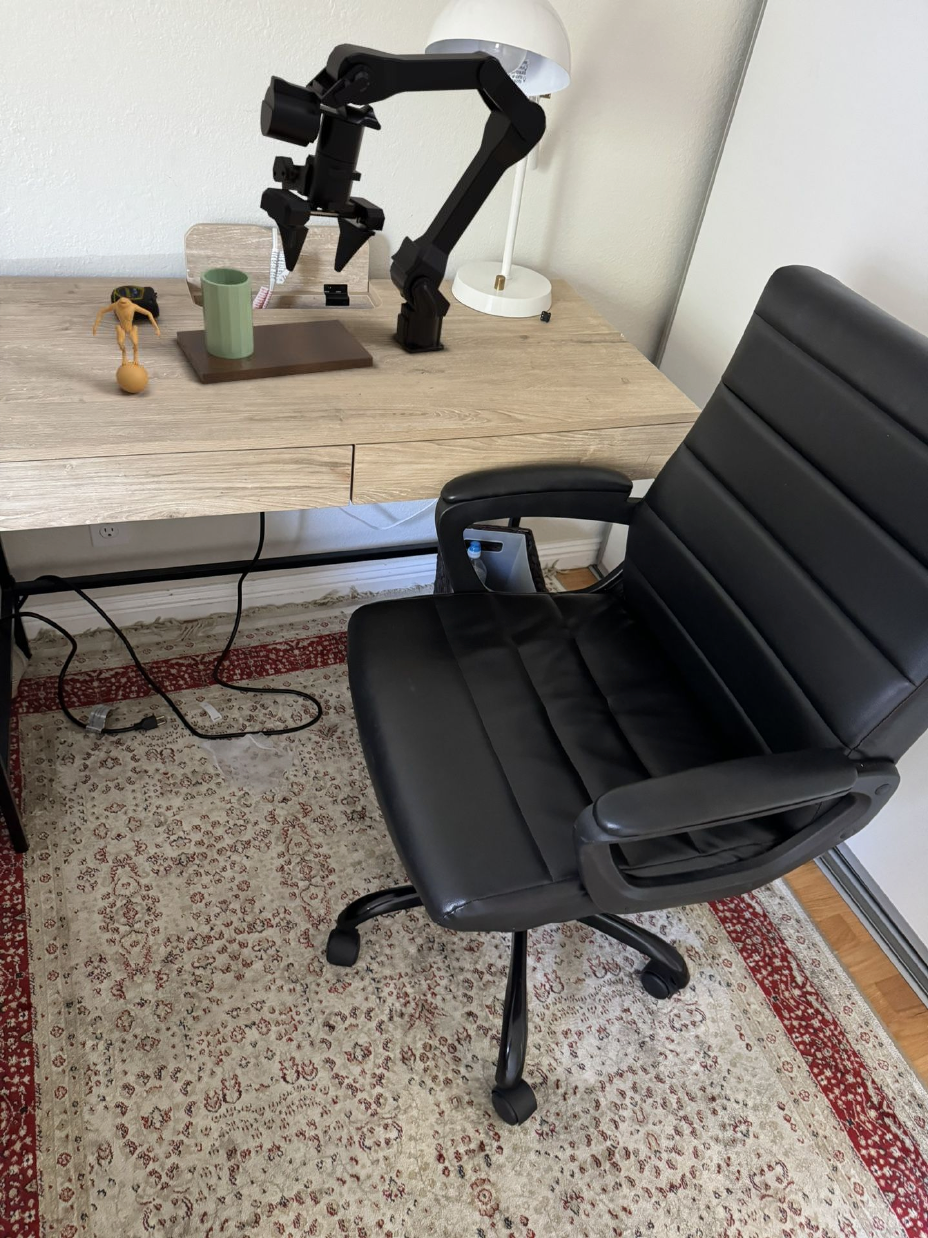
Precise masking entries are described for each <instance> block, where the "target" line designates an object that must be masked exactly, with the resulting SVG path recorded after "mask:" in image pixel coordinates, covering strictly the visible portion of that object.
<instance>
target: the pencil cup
mask: <svg viewBox="0 0 928 1238" xmlns="http://www.w3.org/2000/svg"><path fill="white" fill-rule="evenodd" d="M199 277H200V278H199V279H200V280H199V281H200V292H201V304H202V305H201V306H202V316H203V318H202V319H203V330H204V331H205V343H206V349H207V351H208V352H209V353H211V354H212V355H214V356H217V357H221V358H227V359H238V358H243V357H247V356H249V355H251V354H252V353H253V351H254V329H253V326H254V308H253V305H254V304H253V281H252V278H253V277H252V276H251V275H250V273H248V272H246V271H244V270H243V269H242V270H241V269H238V268H233V267H224V266H223V267H211V268H207V269H205V270H203V271H201V273H200V274H199Z"/></svg>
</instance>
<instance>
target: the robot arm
mask: <svg viewBox="0 0 928 1238" xmlns="http://www.w3.org/2000/svg"><path fill="white" fill-rule="evenodd" d="M325 64H326V65H325V66H324V67H322V69H321V70H320V71H319V72H318V73H317V74H315V76H314V77H313V78H312V79H311V80H309V82H308V83H307V84H306V85H305V86H302V85H299V84H296V83H293V82H289V81H287V80H286V79H284V78H283V77H280V76H276V75H271V76H270V82H269V85H268V86H267V88H266V91H265V94H264V98H263V99H262V100H261V106H260V117H259V119H260V120H259V121H260V122H259V125H260V132H261V135H262V137H265V138H270V139H273V140H277V141H281V142H283V143H288V144H292V145H295V146H297V147H298V146H299V147H302V148H307V147H308V146H309V144H314V143H315V141H316V147H315V151H314V154H307V157H306V158H305V163H304V165H303V164H302V165H300V164H295V163H294V160H293V158H292V157H290V156H285V155H276V156H275V157H274V161H273V165H272V180H273V181H274V182H275V183H281V188H278V187H267V188H265V190H264V191H262V193H261V197H260V202H259V203H260V204H259V208H260V209H261V210H263V211H264V212H265V213H266V214H267V216H268V217H269V218H270V219H272V220H273V221H274V222H275V224H276V226H277V228H278V232H279V236H280V239H281V246H282V253H283V258H284V265H285V269H286V270H287V271H288V272H291V273H292V272H293V271H294V270H295V267H296V266H297V263H298V261H299V258H300V256H301V252H302V251H303V247H304V244H305V241H306V238H307V236H308V233H309V230H310V229H309V228H308V227H307V226H305V225H306V224H307V223H308V222H309V221H310V220H311V217H321V218H334V219H336V220H337V224H338V225H337V226H338V229H339V235H338V240H337V246H336V251H335V255H334V256H335V257H334V264H333V270H334V271H335V272H336V273H342V271H343V270H344V268H345V267H346V266H347V265H348V263H349V262H350V261H351V260H352V259H353V257H354V256H355V255H356V254H357V252H358V251H359V250H360V249H361V248H362V247H363V246H364V245H365V244H366V243H367V241H368V240H369V239H371V238H372V237H375V236H376V233H377V232H382V231H383V230H384V225H385V222H386V216H385V212H384V209H383V208H381V207H380V206H378V205H376V204H374V203H373V202H371V201H370V200H368V199H366V198H364V197H360V196H353V195H352V190H353V186H354V181H355V182H361V179H362V172H359V171H358V170H357V166H358V162H359V157H360V153H361V149H362V144H363V138H364V134H365V130H366V128H369V129H372V130H375V131H381V129H382V125H381V123H380V122H379V120H378V118H377V116H376V114H375V109H374V107H373V106H371V105H370V104H375V103H379V102H383V101H386V100H387V99H389V98H392V97H394V96H396V95H398V94H403V93H413V92H414V93H416V92H417V93H418V92H446V91H469V90H471V91H474V90H475V91H477V93H478V95H479V97H480V99H481V100H482V102H483V104H485V107H486V108H487V109H488V110H489V111H490V114H489V115H488V117H487V120H486V121H485V124H484V129H483V133H482V138H481V142H480V146H479V149H478V151H476V154H475V155H474V157H473V158H472V160H471V161H470V163H469V164H468V166H467V168H466V169H465V171H464V172H463V173H462V175H461V176H460V178H459V180H458V181H457V183H456V184H455V186H454V188H452V190H451V192H450V194H449V195H448V197H447V198H446V200H445V201H444V203H443V204H442V206H441V208H440V209H439V210H438V211H437V214H436V215H435V217H434V218H433V220H432V222H431V223H430V225H428V228H427V229H426V230H425V232H424V233H423V234H422V235H420V236H419V237H417V238H416V239H414V240H412V239H411V238H410V237H409V236H408V235H406V236H405V237H404V238H403V239H402V242H401V244H400V246H399V248H398V250H397V251H396V252H395V253H394V254H392V255H391V256H390V259H391V260H392V262H391V265H390V267H389V274H390V275H389V276H390V281H391V282H392V284H393V285H394V287H395V288H396V289H397V290H398V291H399V294H400V296H401V298H403V299H404V300H405V301H406V302H401V303H400V312H399V313H398V314H397V317H396V318H397V319H396V329H395V330H396V331H395V333H393V338H395V339H396V341H398V342H399V343H400V344H401V346H403V348H404V349H406V351H407V352H409V353H420V352H421V353H422V352H430V351H441V350H445V345H444V344H443V343H442V342H441V339H442V338H441V336H442V329H443V328H442V327H443V322H444V317H446V316H447V314H448V312H449V310H450V307H451V302H450V301H449V300H448V299H447V298H446V296H444V294H443V293H442V292H441V291H440V286H441V284H442V282H443V281H444V279H445V277H446V270H447V266H448V261H449V257H450V255H451V253H452V251H453V250H454V248H455V247H456V245H457V243H458V242H459V241H460V239H461V238H462V236H463V235H464V233H465V232H466V230H467V229H468V227H469V226H470V224H471V223H472V221H473V220H474V219H475V217H476V215H477V214H478V213H479V211H480V209H481V208H482V206H483V205H484V203H485V202H486V201H487V199H488V198H489V196H490V195H491V193H492V192H493V190H494V189H495V188H496V186H497V184H498V183H499V181H500V180H501V178H502V176H503V175H504V174H505V173H506V172H507V170H509V168H512V167H513V166H514V165H516V164H518V163H519V162H520V161H522V160H523V159H525V158H526V157H527V156H528V155H529V154H530V153H531V152H532V150H533V149H534V148H535V147H536V146H537V145H538V144H539V143H540V142H541V140H542V139H543V138H544V135H545V133H546V130H547V116H546V111H545V110H544V108H543V107H542V105H541V104H539V103H538V102H537V101H534V100H533V99H530V98H528V96H527V95H526V93H525V92H524V91H523V90H522V89H521V88H520V87H519V85H518V84H517V83H516V82H515V81H514V79H512V77H511V76H510V75H509V74H508V72H507V71H506V69H505V67H504V66H503V65H502V63H501V61H500V60H499V59H498V58H497V57H496V56H494V55H492V54H490V53H488V52H486V51H483V50H476V51H473V52H458V53H457V52H454V53H453V52H452V53H451V52H450V53H449V52H448V53H405V54H403V53H402V54H395V53H392V52H386V51H383V50H379V49H376V48H372V47H367V46H363V45H362V46H361V45H357V44H351V43H339V44H337V45H336V46H334V47H333V49H332V51H330V53H329V55H328V58H327V59H326V63H325ZM350 104H351V105H350ZM356 106H359V107H356ZM360 106H361V107H360ZM293 191H295V192H296V193H297V194H296V193H295V192H293ZM299 195H300V196H299ZM351 195H352V196H351ZM302 197H305V198H306V199H304V198H302ZM376 231H377V232H376Z"/></svg>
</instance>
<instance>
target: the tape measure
mask: <svg viewBox="0 0 928 1238" xmlns="http://www.w3.org/2000/svg"><path fill="white" fill-rule="evenodd" d="M121 297H123V298H127V299H129V300H130V301H131V302H132V303H133V304H136V305H138V306H139V307H141V308H143V309H145V310H147V311H149V312H150V313H151V314H152V316H153V319H154V320H155V319H157V318H159V316H160V307H159V303H158V301H157V299H158V292H155V289H154V288H153V287H152V286H139V285H132V284H131V285H130V284H129V285H121V286H117V287H115V288H114V289H113V290H112V292H111V295H110V305H111V304H112V303H116V302H117V301H118V300H119V299H120V298H121ZM113 312H114V314H116V311H115V310H113ZM146 320H150V318H149V316H148V315H145V314H143V313H140V312H137V311H135V312H134V316H133V320H132V321H146Z"/></svg>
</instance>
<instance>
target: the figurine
mask: <svg viewBox="0 0 928 1238" xmlns="http://www.w3.org/2000/svg"><path fill="white" fill-rule="evenodd" d="M114 310H115V311H116V313H115V315H116V316H117V317H118V320H119V322H120V324H116V325H115V331H116V341H117V345H118V347H119V350H120V351H121V356H122V362H121V365H119V366H118V368H117V370H116V373H115V378H116V381H117V384H118V385H119V387H120V388H121V389H122V390H124V391H126V392H128V393H131V394H137V393H140V392H142V391H143V390H145V389H146V387H147V385H148V384H149V383H148V382H149V375H148V372H147V370H146V369H145V368H144V366H142V365H141V364H140V363H139V358H138V357H139V356H138V350H139V346H138V344H139V335H138V334H139V327H138V326H137V325H133V321H134V320H133V316H134V312H135V311H137V312H140V313H143V314H145V315H148V316H149V318H150V319H149V320H150V322H151V324H152V326H153V328H154V329H155V330H156V331H155V335H157V338H158V339H160V338H162V333H161V331H160V328H159V327H158V324H157V322H156V321H155V318H154V319H153V316H152V314H151V313H150V312H149V311H147V310H145V309H143V308H141V307H139V306H138V305H136V304H133V303H132V302H131V301H130V300H129V299H127V298H123V297H121V298H120V299H119V300H118V301H117V302H116V303H112V304H111V303H110V304H109V305H107V306H105V307H103V308H101V309H100V310H99V311H98V313H97V317H96V319H95V321H94V325H93V327H92V335H93V336H94V337H96V335H97V333H98V330H97V327H98V326H99V324H100V322H101V319H102V317H103V314H107V313H110V312H112V311H114ZM126 334H128V338H129V340H130V341H131V343H132V345H133V346H132V350H133V360H132V361H128V358H127V351H126V346H125V345H124V342H125V341H126Z"/></svg>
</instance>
